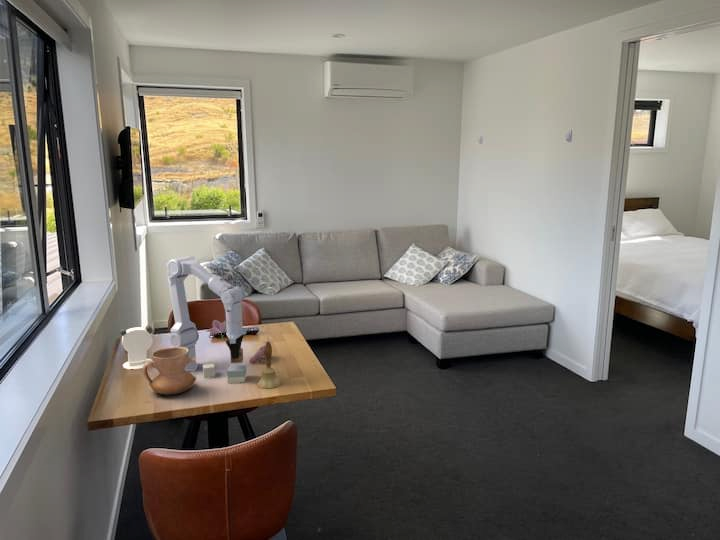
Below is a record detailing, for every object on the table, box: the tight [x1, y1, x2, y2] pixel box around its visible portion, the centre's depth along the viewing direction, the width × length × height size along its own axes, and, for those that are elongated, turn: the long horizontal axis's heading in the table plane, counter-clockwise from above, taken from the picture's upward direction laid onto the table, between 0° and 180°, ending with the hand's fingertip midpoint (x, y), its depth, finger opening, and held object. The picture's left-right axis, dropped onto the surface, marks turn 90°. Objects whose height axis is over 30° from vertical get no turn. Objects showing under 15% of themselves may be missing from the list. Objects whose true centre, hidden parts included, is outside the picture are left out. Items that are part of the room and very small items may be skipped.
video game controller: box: [248, 344, 266, 365], centre depth 218 cm, size 10×5×7 cm, turn 169°
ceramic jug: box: [142, 346, 197, 396], centre depth 189 cm, size 18×14×14 cm
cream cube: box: [202, 363, 216, 379], centre depth 203 cm, size 4×4×4 cm
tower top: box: [226, 364, 247, 378], centre depth 199 cm, size 6×6×2 cm
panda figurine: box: [120, 325, 154, 370], centre depth 214 cm, size 12×11×15 cm
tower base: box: [226, 372, 247, 384], centre depth 199 cm, size 6×6×2 cm
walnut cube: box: [229, 347, 244, 364], centre depth 198 cm, size 4×4×4 cm
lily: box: [205, 319, 227, 341], centre depth 246 cm, size 12×12×10 cm
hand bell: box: [257, 341, 282, 389], centre depth 193 cm, size 8×8×16 cm
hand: (236, 356), depth 198 cm, fingers closed on walnut cube, 4 cm apart
